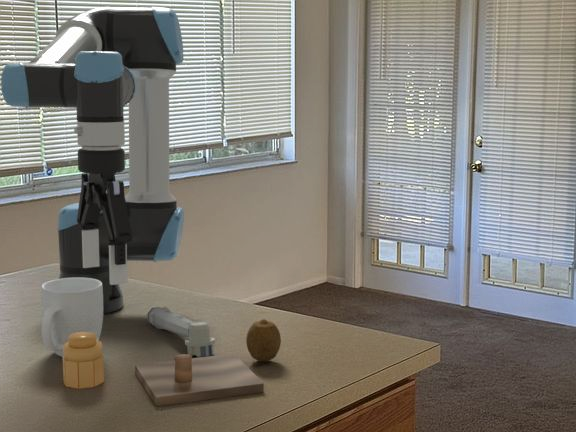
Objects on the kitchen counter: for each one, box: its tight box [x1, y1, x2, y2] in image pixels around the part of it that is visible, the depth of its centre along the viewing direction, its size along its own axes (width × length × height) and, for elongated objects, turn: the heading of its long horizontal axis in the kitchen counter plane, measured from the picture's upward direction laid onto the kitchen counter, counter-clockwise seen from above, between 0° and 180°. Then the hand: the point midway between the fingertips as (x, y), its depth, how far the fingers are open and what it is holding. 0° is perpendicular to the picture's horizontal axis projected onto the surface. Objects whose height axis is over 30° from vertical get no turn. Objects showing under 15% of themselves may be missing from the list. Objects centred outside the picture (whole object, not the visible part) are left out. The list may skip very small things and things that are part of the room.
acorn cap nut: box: [62, 332, 105, 390], centre depth 150 cm, size 6×6×8 cm
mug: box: [40, 277, 104, 358], centre depth 163 cm, size 15×11×13 cm
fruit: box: [245, 318, 282, 364], centre depth 161 cm, size 6×6×8 cm
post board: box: [134, 353, 265, 407], centre depth 150 cm, size 16×18×6 cm
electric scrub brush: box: [147, 306, 216, 358], centre depth 173 cm, size 5×7×25 cm
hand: (104, 275), depth 148 cm, fingers open, 13 cm apart
